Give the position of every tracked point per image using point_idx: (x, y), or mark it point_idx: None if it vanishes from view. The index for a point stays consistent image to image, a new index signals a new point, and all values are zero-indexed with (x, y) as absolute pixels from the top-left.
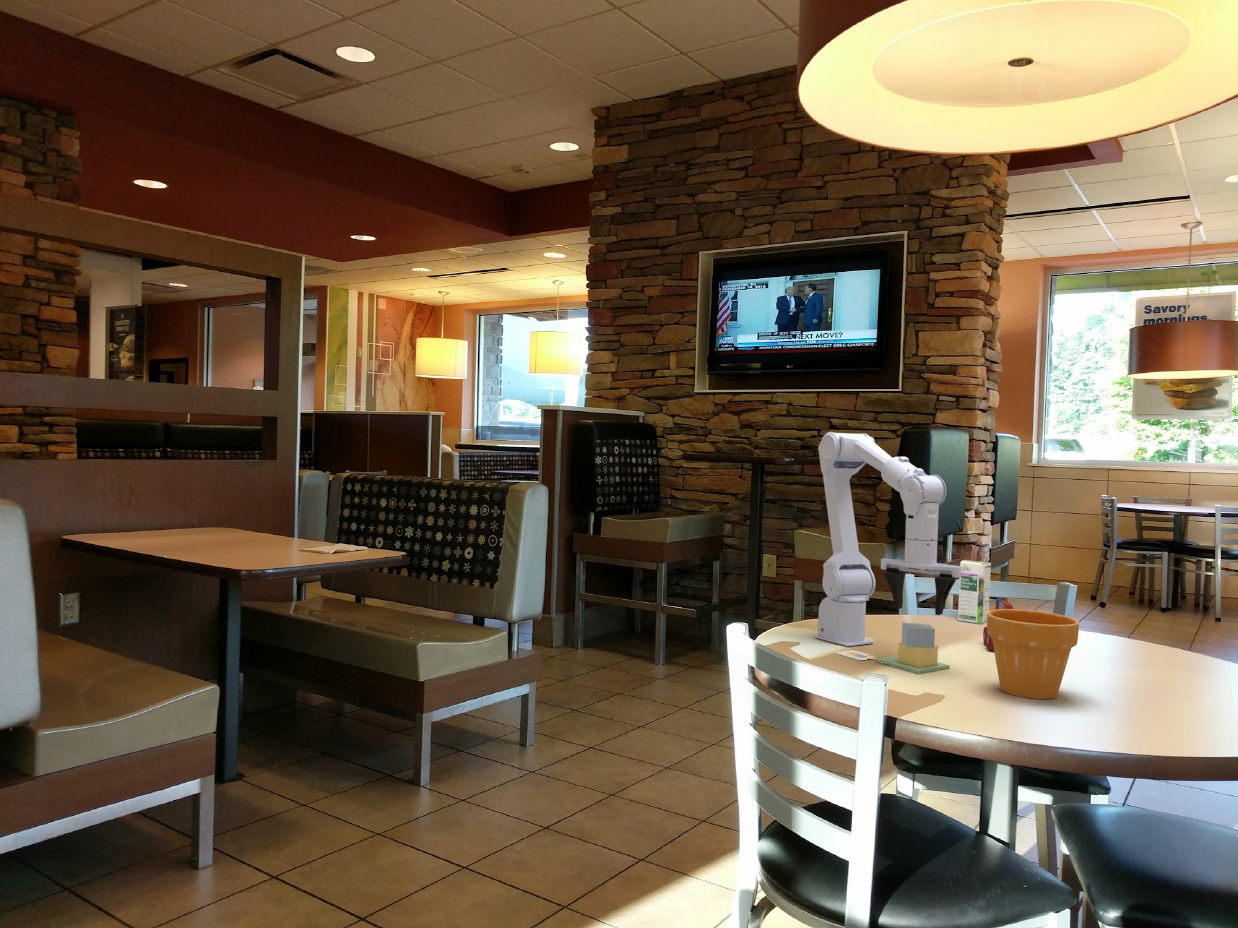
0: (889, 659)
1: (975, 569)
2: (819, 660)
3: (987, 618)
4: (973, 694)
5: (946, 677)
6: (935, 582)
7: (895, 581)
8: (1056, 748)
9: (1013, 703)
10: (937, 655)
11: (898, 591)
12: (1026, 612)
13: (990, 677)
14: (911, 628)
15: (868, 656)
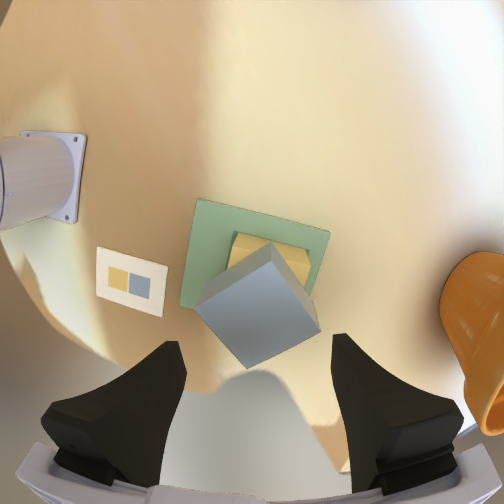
0: (202, 289)
1: None
2: (123, 358)
3: (477, 413)
4: (404, 370)
5: (348, 312)
6: (354, 492)
7: (157, 471)
8: (460, 434)
9: (450, 364)
10: (307, 257)
11: (162, 417)
12: None
13: (416, 240)
14: (258, 362)
15: (150, 279)
